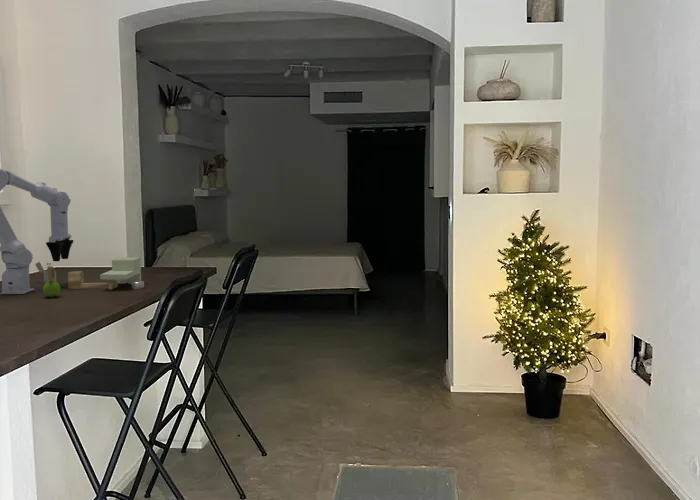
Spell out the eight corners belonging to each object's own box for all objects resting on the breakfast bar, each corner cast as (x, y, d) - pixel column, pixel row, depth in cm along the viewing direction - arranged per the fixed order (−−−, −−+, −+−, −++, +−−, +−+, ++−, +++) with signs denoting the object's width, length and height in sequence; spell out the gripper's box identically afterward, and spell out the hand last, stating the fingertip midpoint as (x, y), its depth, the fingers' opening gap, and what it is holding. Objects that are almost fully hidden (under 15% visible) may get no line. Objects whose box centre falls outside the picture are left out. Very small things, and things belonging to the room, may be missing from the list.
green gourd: (41, 299, 211) (39, 263, 210) (44, 296, 217) (43, 261, 216) (58, 298, 213) (57, 262, 211) (62, 295, 219) (60, 260, 218)
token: (142, 289, 234) (142, 282, 234) (130, 289, 234) (129, 282, 233) (145, 287, 238) (145, 280, 238) (133, 287, 238) (133, 280, 238)
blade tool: (111, 289, 232) (111, 273, 232) (66, 289, 231) (66, 273, 231) (117, 286, 239) (117, 270, 239) (74, 286, 238) (73, 270, 238)
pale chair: (126, 291, 229) (125, 263, 228) (100, 291, 228) (100, 263, 228) (141, 282, 248) (140, 257, 247) (117, 282, 248) (117, 257, 247)
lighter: (56, 281, 249) (55, 261, 249) (55, 282, 248) (54, 262, 247) (37, 282, 248) (36, 261, 247) (35, 282, 246) (34, 262, 246)
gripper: (62, 225, 230) (63, 262, 231) (77, 222, 244) (79, 257, 245) (42, 224, 229) (43, 262, 231) (59, 222, 244) (60, 257, 245)
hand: (60, 260), depth 238 cm, fingers open, 7 cm apart
